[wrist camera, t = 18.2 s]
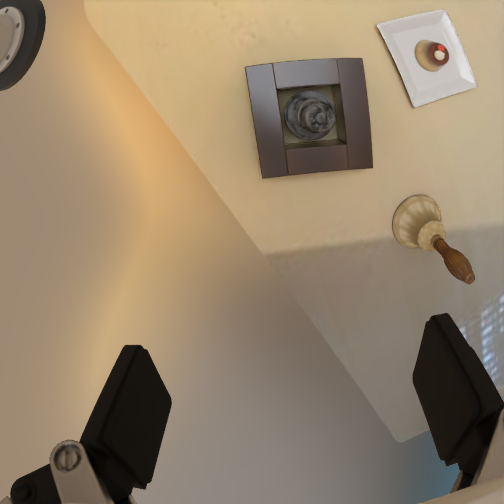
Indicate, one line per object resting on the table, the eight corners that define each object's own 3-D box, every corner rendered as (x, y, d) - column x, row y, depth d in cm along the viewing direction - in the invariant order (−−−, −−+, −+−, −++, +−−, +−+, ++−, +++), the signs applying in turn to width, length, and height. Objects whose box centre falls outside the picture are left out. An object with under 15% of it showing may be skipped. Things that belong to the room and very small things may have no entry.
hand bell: (428, 252, 44) (479, 312, 29) (384, 241, 43) (428, 305, 29) (447, 202, 40) (510, 250, 26) (402, 187, 40) (461, 234, 25)
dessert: (441, 10, 27) (458, 3, 23) (473, 86, 32) (492, 87, 28) (373, 25, 30) (386, 17, 26) (410, 107, 35) (426, 109, 30)
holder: (262, 170, 40) (262, 178, 35) (247, 71, 34) (244, 66, 30) (361, 160, 39) (373, 168, 34) (351, 62, 33) (362, 57, 28)
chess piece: (273, 113, 37) (275, 117, 26) (306, 82, 34) (322, 73, 24) (306, 146, 38) (322, 163, 27) (339, 115, 36) (367, 121, 25)
